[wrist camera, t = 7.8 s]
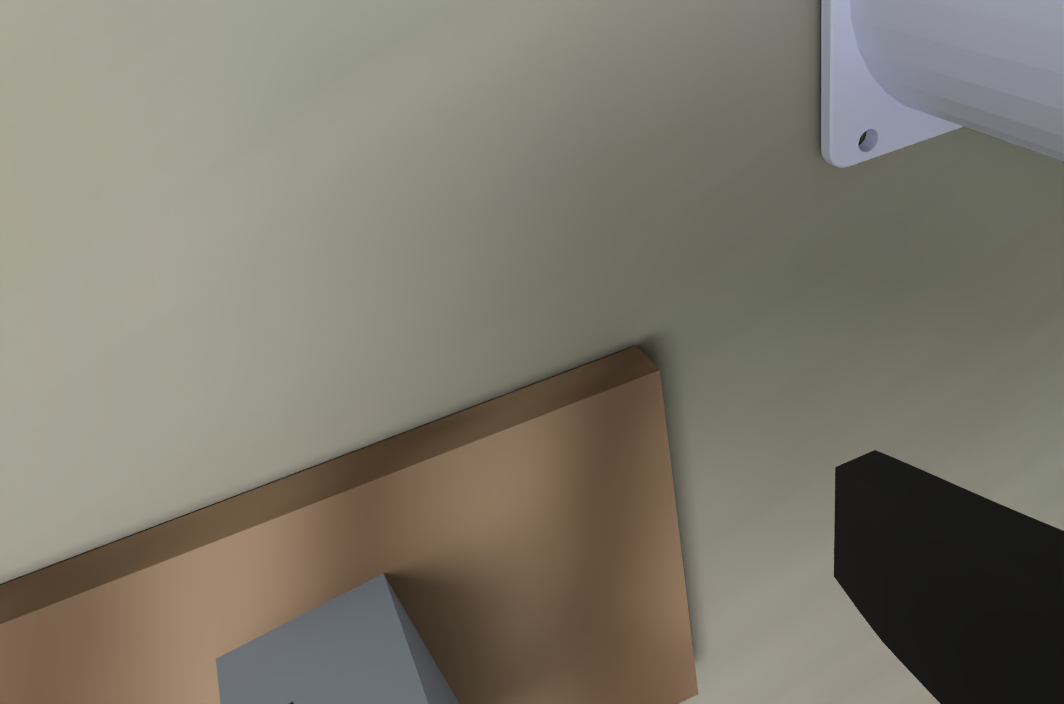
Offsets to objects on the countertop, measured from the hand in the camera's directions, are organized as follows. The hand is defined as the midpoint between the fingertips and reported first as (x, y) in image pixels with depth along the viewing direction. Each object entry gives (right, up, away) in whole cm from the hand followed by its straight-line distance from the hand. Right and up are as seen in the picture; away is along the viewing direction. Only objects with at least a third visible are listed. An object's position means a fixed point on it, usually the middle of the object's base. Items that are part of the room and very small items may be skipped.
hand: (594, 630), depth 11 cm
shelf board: (-5, -4, +12) cm, 13 cm away
